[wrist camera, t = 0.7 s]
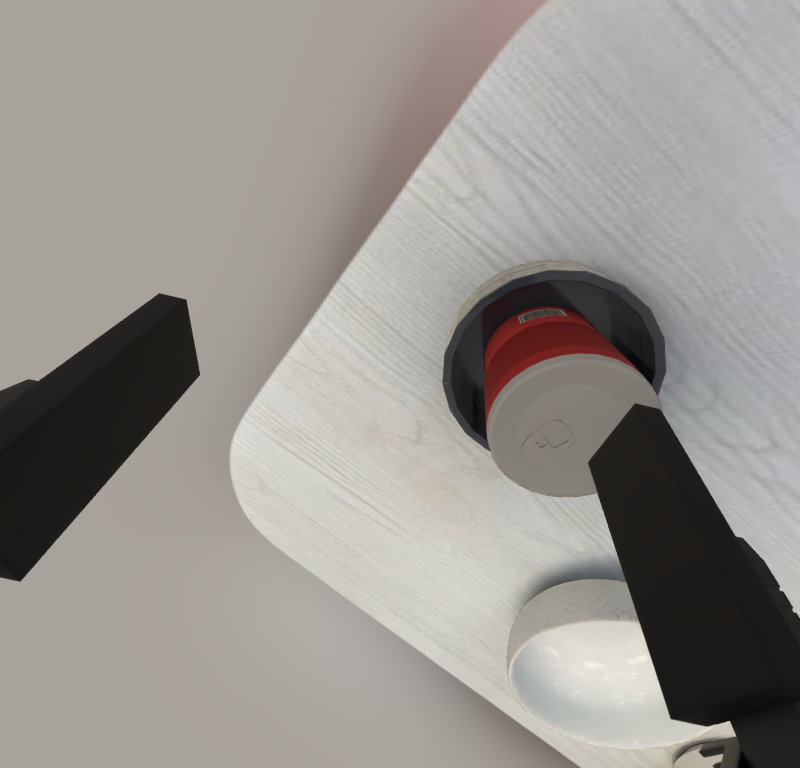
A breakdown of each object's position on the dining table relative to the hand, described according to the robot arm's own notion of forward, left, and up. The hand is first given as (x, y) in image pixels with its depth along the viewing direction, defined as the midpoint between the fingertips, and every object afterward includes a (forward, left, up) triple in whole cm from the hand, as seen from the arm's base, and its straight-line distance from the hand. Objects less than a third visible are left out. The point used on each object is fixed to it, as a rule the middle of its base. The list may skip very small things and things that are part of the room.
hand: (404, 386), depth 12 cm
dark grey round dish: (+2, +8, -18) cm, 20 cm away
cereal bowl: (+24, +25, -18) cm, 39 cm away
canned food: (+2, +8, -18) cm, 20 cm away
